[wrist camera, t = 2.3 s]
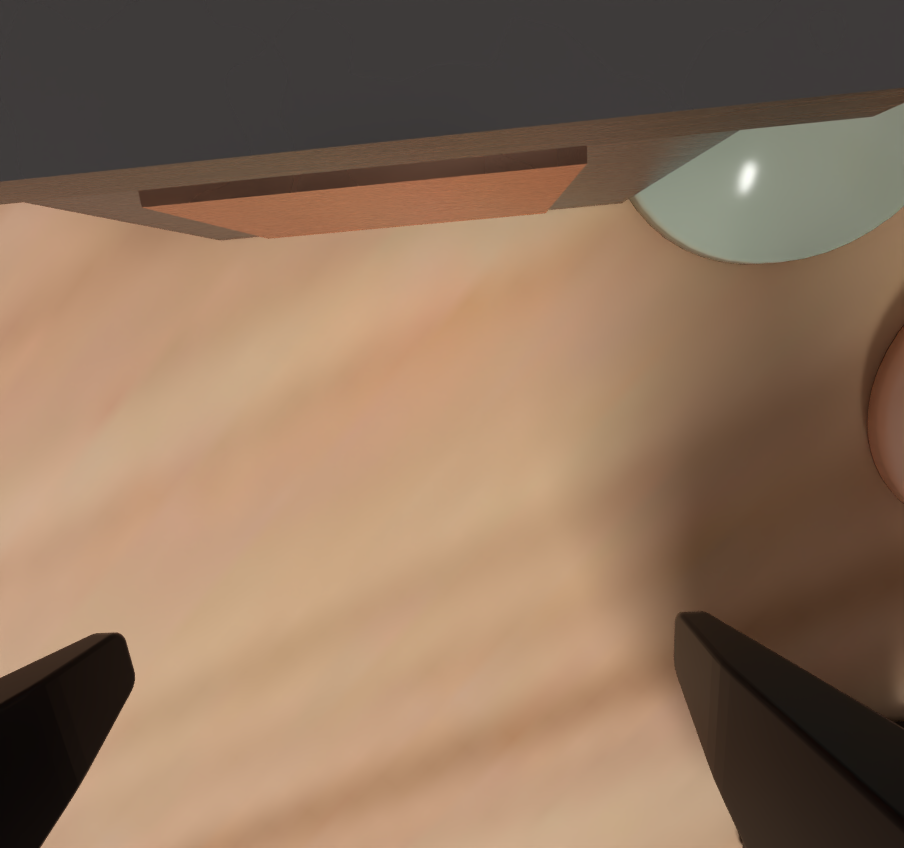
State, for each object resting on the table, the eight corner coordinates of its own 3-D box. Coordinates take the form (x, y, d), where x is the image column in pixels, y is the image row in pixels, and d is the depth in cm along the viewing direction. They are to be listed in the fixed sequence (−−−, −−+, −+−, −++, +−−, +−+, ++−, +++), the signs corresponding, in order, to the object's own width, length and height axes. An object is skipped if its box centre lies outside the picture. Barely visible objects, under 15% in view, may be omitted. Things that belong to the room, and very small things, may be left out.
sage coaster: (925, 250, 14) (957, 247, 13) (604, 276, 15) (613, 275, 14) (983, -143, 12) (1026, -180, 11) (603, -92, 13) (612, -123, 12)
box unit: (639, 219, 15) (948, 83, 5) (206, 258, 16) (-240, 206, 6) (642, -27, 13) (1093, -907, 3) (163, 32, 14) (-528, -532, 4)
